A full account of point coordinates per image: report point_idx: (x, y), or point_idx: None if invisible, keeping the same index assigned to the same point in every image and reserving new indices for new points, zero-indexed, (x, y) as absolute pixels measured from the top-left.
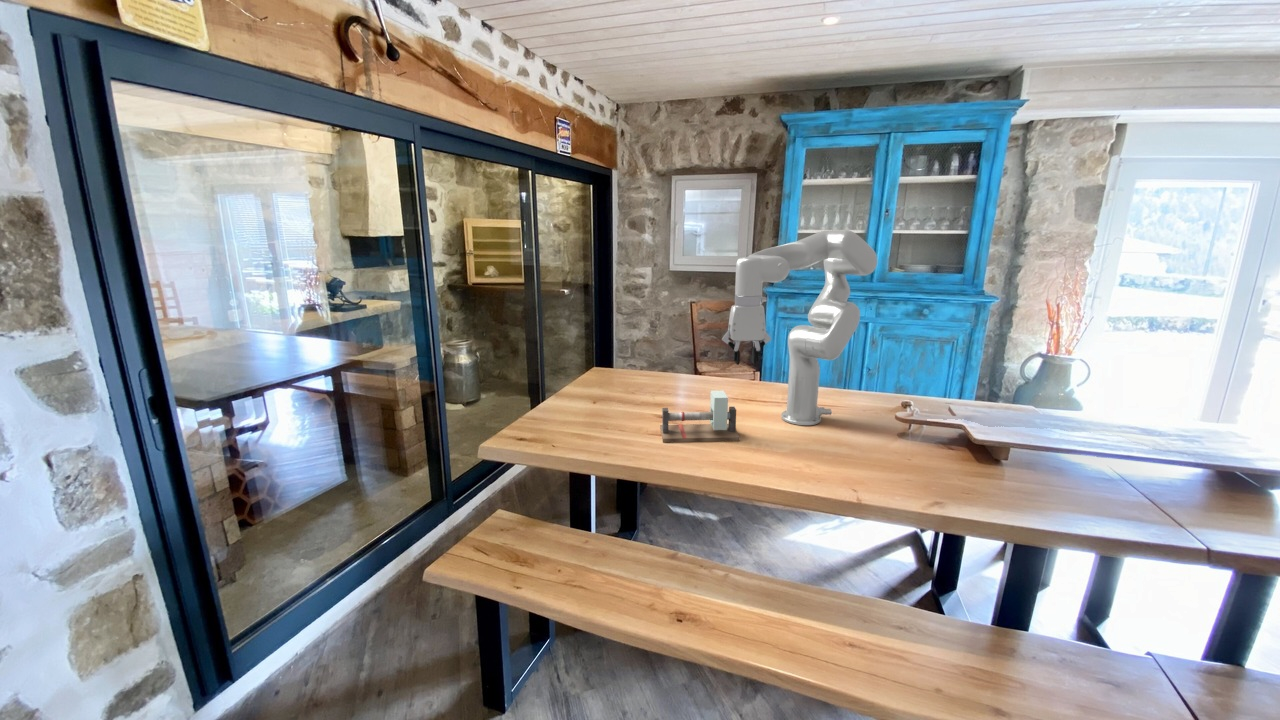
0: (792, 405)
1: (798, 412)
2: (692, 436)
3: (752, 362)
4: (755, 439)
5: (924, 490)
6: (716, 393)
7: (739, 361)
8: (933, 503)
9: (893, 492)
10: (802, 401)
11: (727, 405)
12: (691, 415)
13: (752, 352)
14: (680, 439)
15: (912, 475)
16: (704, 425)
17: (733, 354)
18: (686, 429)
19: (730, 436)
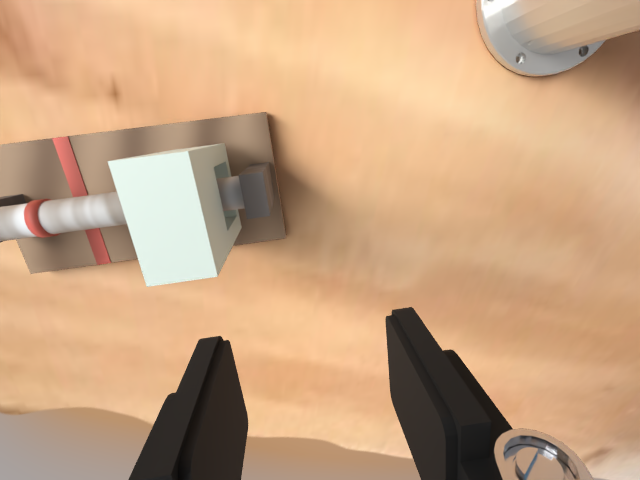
0: (548, 10)
1: (548, 40)
2: (128, 246)
3: (388, 353)
4: (337, 212)
5: (609, 419)
6: (149, 211)
7: (244, 448)
8: (593, 455)
9: (551, 432)
10: (604, 30)
11: (224, 260)
12: (80, 228)
13: (428, 425)
14: (92, 264)
15: (630, 369)
16: (158, 139)
17: (147, 458)
18: (95, 185)
19: (256, 235)
